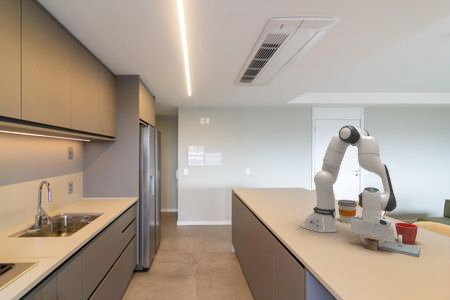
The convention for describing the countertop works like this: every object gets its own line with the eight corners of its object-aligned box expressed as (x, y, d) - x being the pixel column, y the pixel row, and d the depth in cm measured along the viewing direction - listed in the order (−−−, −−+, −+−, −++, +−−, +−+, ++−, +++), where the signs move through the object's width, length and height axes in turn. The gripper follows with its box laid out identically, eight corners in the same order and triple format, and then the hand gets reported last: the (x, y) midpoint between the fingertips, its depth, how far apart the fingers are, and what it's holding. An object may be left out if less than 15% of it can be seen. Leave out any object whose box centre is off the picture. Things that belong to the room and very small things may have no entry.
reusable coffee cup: (360, 224, 183) (360, 203, 183) (342, 223, 183) (342, 202, 183) (351, 219, 195) (351, 199, 196) (335, 219, 196) (335, 199, 196)
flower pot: (390, 239, 149) (390, 223, 150) (403, 237, 153) (403, 221, 153) (409, 246, 139) (409, 228, 140) (422, 243, 143) (422, 226, 143)
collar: (363, 247, 136) (363, 240, 136) (366, 244, 141) (366, 237, 141) (376, 250, 132) (376, 242, 132) (378, 247, 137) (378, 240, 137)
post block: (380, 248, 135) (380, 234, 135) (384, 243, 144) (384, 229, 144) (418, 257, 124) (418, 241, 124) (420, 250, 133) (420, 235, 134)
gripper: (348, 216, 141) (348, 241, 141) (392, 223, 128) (392, 251, 128) (352, 214, 146) (351, 238, 146) (394, 220, 133) (394, 247, 132)
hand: (371, 244), depth 137 cm, fingers closed on collar, 6 cm apart
